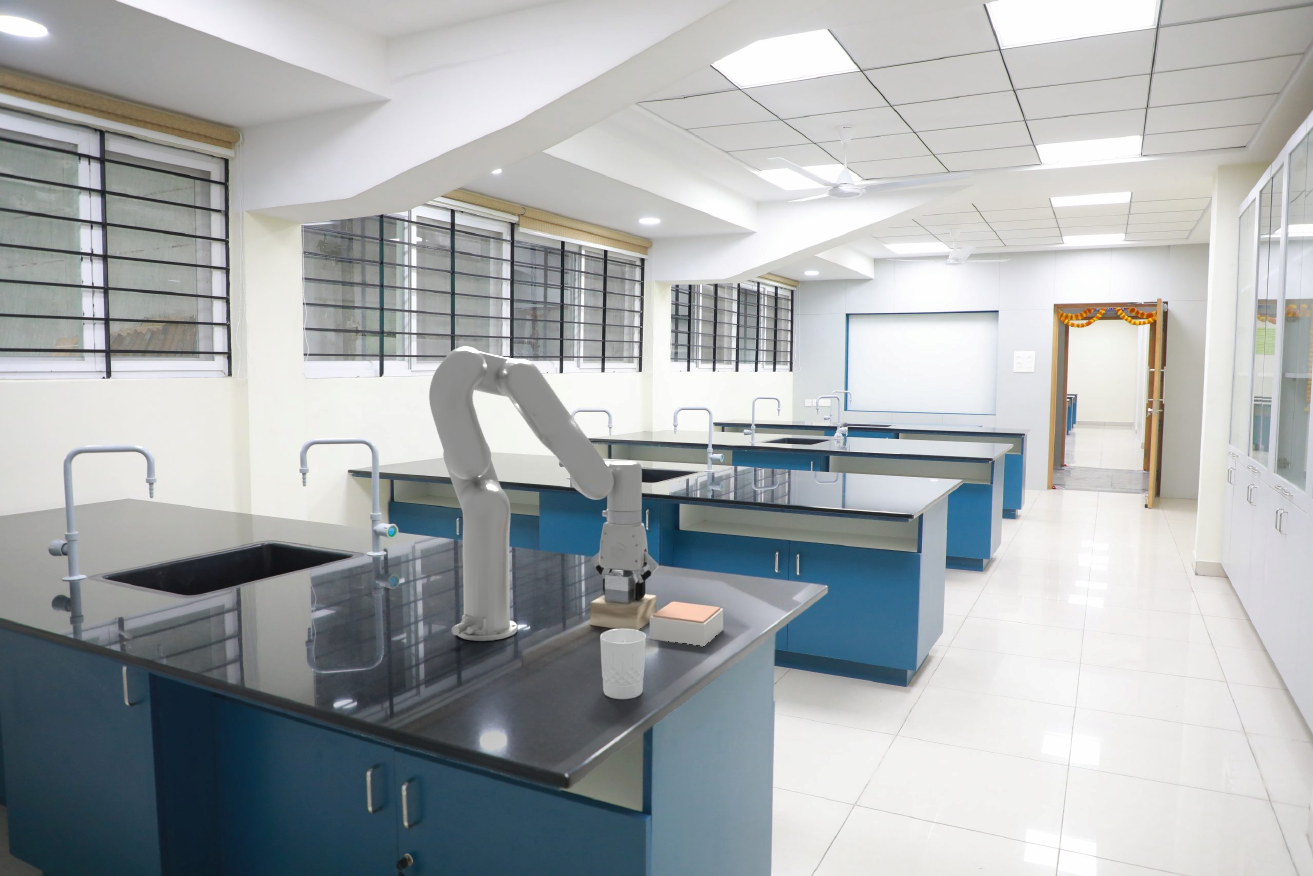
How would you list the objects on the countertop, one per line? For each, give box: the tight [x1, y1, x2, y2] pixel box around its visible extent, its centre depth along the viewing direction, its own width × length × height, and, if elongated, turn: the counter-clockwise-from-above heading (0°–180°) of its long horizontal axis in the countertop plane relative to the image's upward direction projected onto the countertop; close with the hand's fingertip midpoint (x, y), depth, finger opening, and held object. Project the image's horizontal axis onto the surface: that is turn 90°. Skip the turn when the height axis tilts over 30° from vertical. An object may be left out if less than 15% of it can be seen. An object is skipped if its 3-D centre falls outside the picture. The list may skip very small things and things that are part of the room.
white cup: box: [599, 628, 647, 700], centre depth 144 cm, size 8×8×10 cm
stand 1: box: [589, 593, 658, 631], centre depth 184 cm, size 11×11×5 cm
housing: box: [605, 569, 638, 605], centre depth 184 cm, size 8×6×7 cm
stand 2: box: [649, 600, 724, 647], centre depth 176 cm, size 12×12×5 cm
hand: (624, 596), depth 184 cm, fingers open, 6 cm apart
